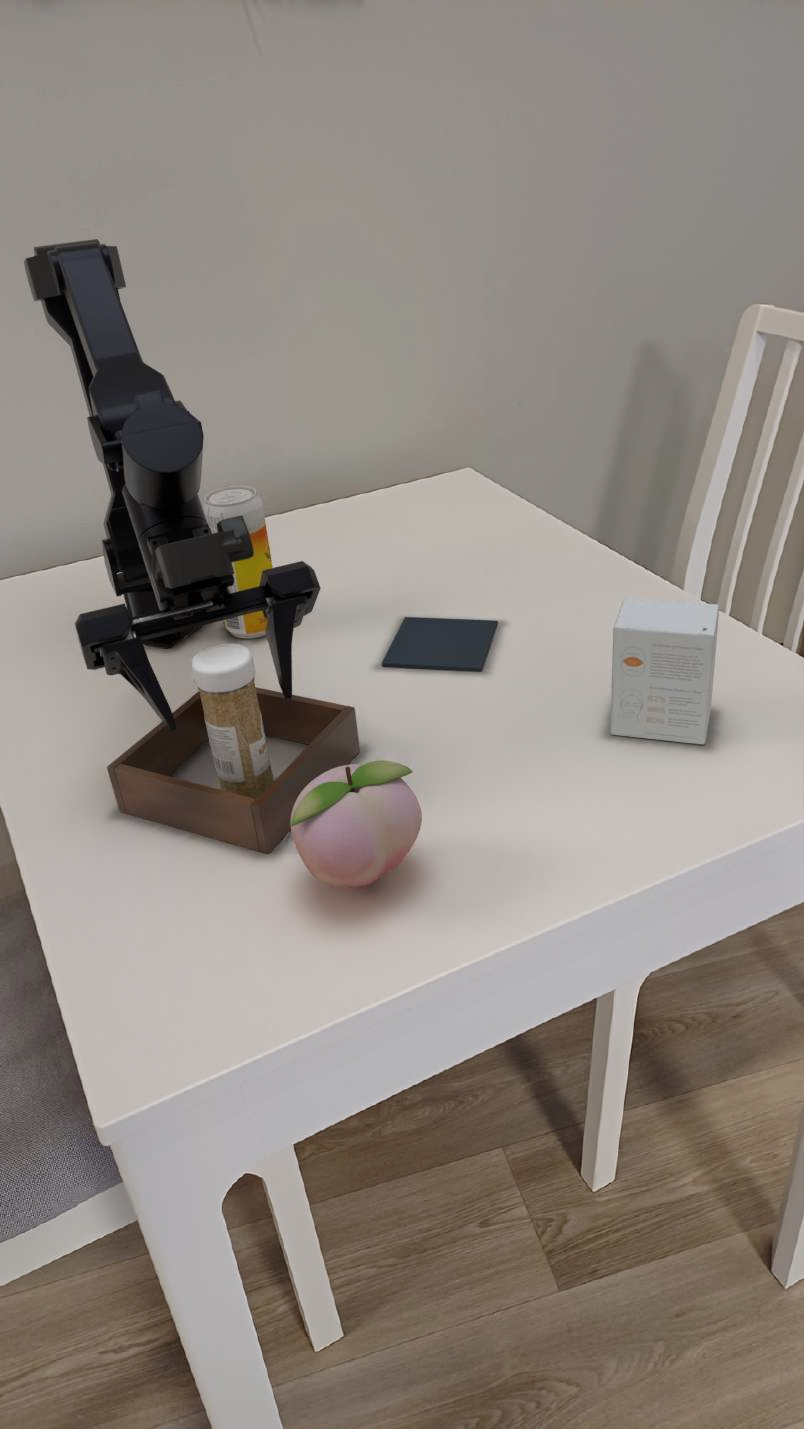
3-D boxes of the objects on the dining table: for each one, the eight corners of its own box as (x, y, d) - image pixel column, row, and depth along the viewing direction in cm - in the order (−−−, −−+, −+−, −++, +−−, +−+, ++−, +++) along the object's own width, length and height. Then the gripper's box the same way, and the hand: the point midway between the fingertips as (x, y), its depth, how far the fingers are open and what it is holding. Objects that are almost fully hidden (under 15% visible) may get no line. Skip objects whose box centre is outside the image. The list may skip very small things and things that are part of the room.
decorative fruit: (373, 823, 77) (360, 715, 72) (445, 872, 72) (436, 759, 66) (274, 882, 72) (252, 770, 67) (343, 939, 67) (325, 823, 61)
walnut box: (119, 811, 81) (106, 766, 79) (222, 720, 92) (213, 678, 89) (268, 854, 75) (259, 807, 73) (360, 750, 86) (355, 707, 83)
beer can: (291, 618, 108) (271, 486, 100) (262, 644, 104) (239, 508, 96) (245, 611, 111) (221, 482, 103) (214, 636, 106) (187, 502, 98)
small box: (711, 711, 87) (722, 603, 81) (705, 747, 82) (717, 635, 77) (618, 701, 89) (623, 595, 83) (608, 735, 85) (612, 626, 79)
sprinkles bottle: (287, 801, 80) (262, 657, 73) (236, 823, 78) (205, 677, 71) (262, 775, 84) (235, 635, 76) (212, 796, 82) (180, 654, 75)
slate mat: (381, 666, 98) (381, 663, 98) (405, 620, 106) (404, 616, 106) (481, 671, 96) (481, 668, 95) (497, 623, 104) (497, 620, 103)
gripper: (43, 513, 69) (105, 720, 66) (296, 461, 75) (364, 649, 72) (59, 577, 80) (113, 758, 77) (280, 527, 85) (339, 694, 82)
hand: (232, 714), depth 77 cm, fingers open, 9 cm apart
